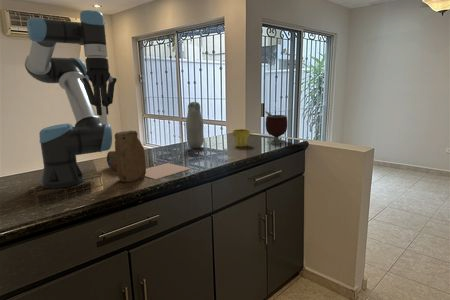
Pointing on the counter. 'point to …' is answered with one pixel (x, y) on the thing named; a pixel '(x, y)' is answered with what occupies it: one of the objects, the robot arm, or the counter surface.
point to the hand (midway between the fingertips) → (103, 123)
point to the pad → (164, 170)
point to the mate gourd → (276, 127)
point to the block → (129, 156)
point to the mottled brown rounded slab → (111, 159)
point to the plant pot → (241, 137)
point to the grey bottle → (194, 126)
